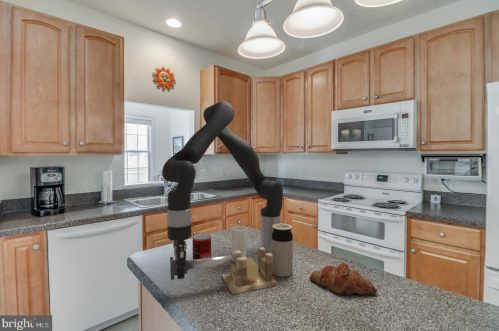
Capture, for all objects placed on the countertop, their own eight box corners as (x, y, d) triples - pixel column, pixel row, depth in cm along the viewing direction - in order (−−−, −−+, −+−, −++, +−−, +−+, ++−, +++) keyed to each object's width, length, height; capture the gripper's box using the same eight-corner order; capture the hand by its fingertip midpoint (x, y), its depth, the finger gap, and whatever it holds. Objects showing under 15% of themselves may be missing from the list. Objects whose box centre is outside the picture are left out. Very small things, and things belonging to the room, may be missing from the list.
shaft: (236, 261, 91) (236, 248, 91) (241, 268, 86) (241, 253, 85) (170, 272, 83) (169, 257, 83) (171, 279, 78) (170, 264, 77)
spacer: (250, 273, 93) (250, 257, 93) (257, 281, 88) (257, 264, 87) (240, 275, 92) (240, 259, 92) (246, 283, 86) (246, 265, 86)
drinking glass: (227, 265, 103) (227, 229, 102) (236, 259, 109) (236, 225, 108) (242, 269, 100) (242, 231, 99) (250, 262, 106) (250, 227, 105)
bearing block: (262, 270, 98) (262, 245, 98) (276, 285, 87) (276, 256, 86) (222, 277, 92) (222, 250, 92) (231, 294, 81) (231, 263, 81)
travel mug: (292, 278, 92) (292, 229, 91) (270, 276, 93) (270, 228, 93) (292, 268, 100) (293, 223, 99) (272, 267, 101) (272, 222, 101)
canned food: (213, 258, 110) (213, 233, 110) (208, 266, 102) (208, 239, 102) (196, 257, 111) (195, 232, 111) (190, 265, 103) (189, 238, 103)
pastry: (330, 303, 77) (331, 277, 77) (307, 279, 92) (308, 257, 91) (378, 296, 81) (378, 271, 80) (348, 274, 96) (349, 253, 95)
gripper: (194, 227, 75) (195, 283, 76) (188, 216, 89) (189, 265, 89) (168, 230, 73) (169, 288, 73) (166, 218, 86) (167, 268, 87)
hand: (180, 275), depth 81 cm, fingers closed on shaft, 3 cm apart
